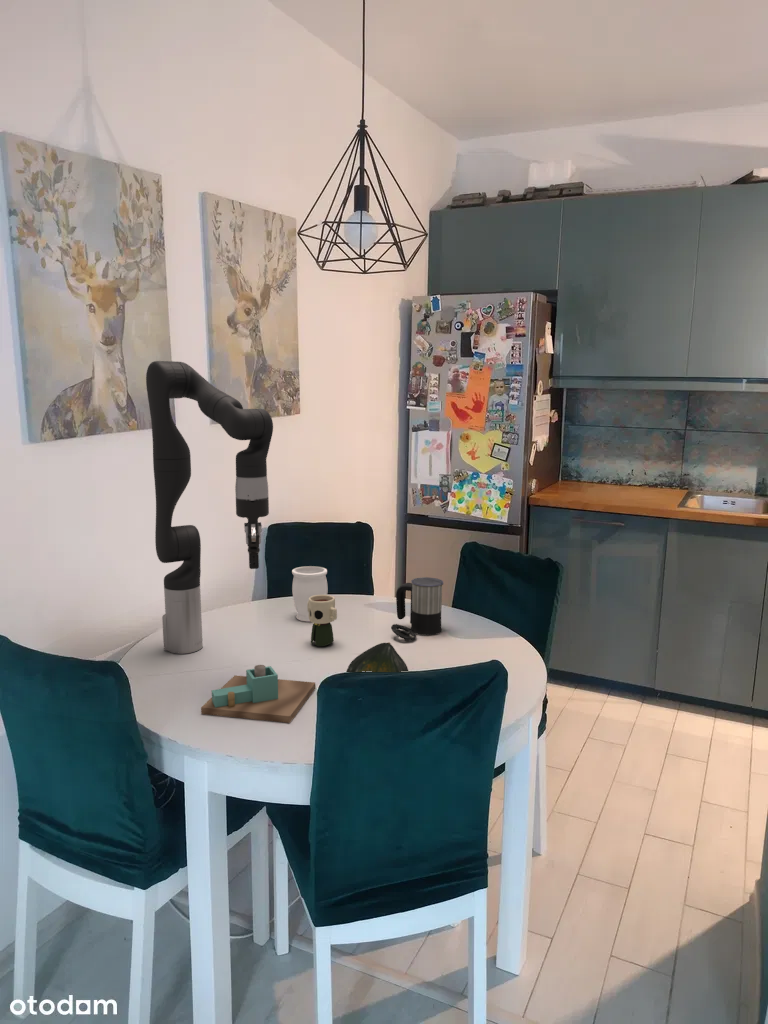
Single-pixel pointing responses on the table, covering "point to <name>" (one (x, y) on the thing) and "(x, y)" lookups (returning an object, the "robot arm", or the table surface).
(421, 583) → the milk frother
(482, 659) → the table surface
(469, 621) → the table surface
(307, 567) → the jar
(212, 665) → the table surface
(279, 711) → the base
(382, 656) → the squash
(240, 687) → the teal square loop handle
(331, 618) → the character mug
